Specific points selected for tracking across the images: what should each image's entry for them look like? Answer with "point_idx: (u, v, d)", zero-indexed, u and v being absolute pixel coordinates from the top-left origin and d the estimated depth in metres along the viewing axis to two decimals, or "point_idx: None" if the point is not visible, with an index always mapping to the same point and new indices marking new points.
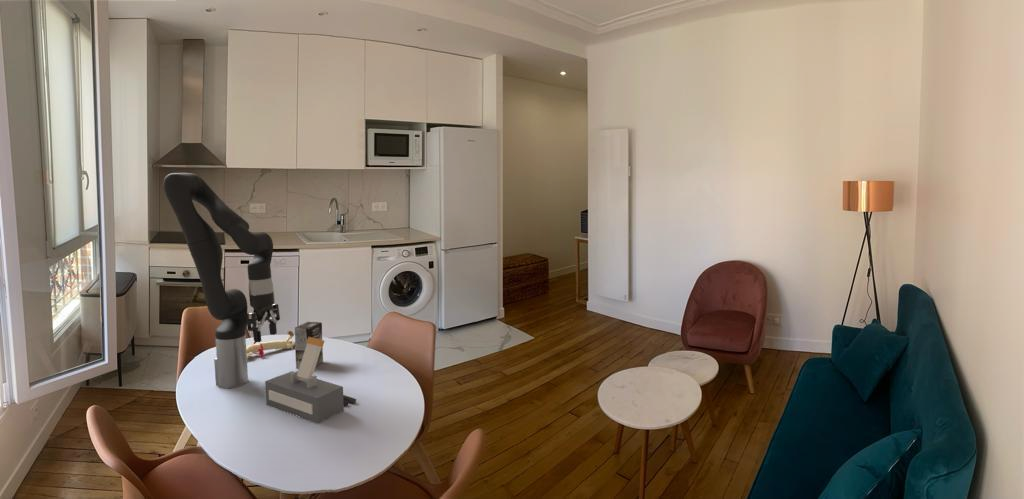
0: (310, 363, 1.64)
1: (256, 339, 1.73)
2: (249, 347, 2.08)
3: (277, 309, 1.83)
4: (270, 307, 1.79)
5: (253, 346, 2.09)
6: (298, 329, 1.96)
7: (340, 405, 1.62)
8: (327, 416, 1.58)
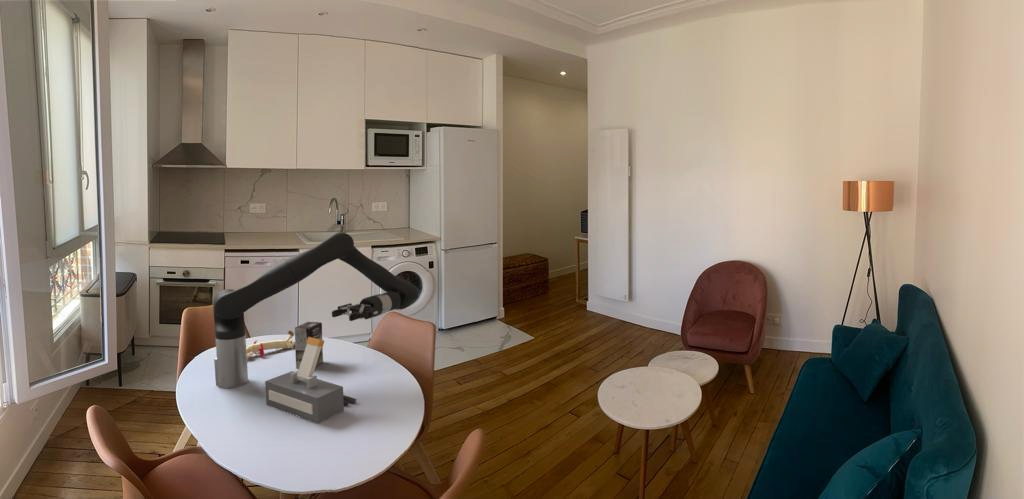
0: (310, 363, 1.64)
1: (354, 318, 1.74)
2: (249, 347, 2.08)
3: None
4: None
5: (253, 346, 2.09)
6: (298, 329, 1.96)
7: (340, 405, 1.62)
8: (327, 416, 1.58)
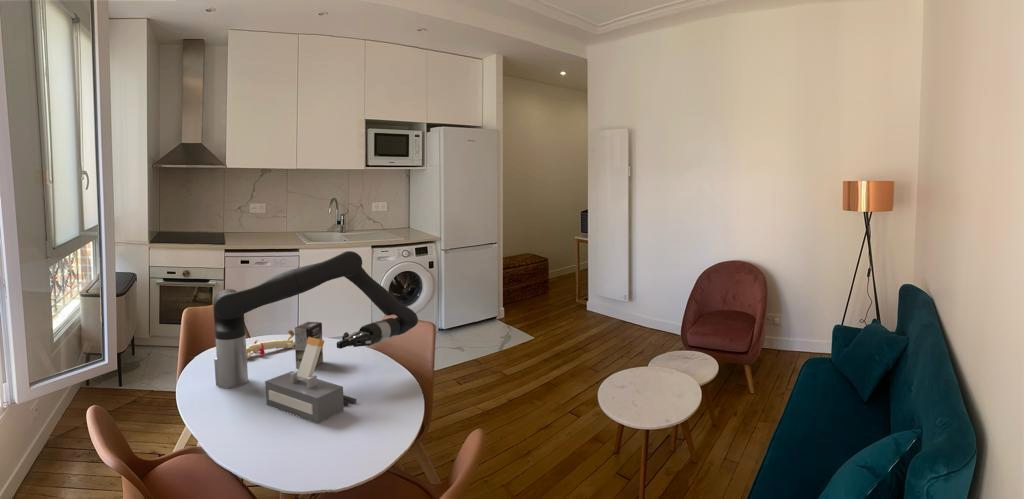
0: (310, 363, 1.64)
1: (343, 346, 1.76)
2: (250, 346, 2.08)
3: None
4: None
5: (254, 345, 2.09)
6: (298, 329, 1.96)
7: (340, 405, 1.62)
8: (327, 416, 1.58)
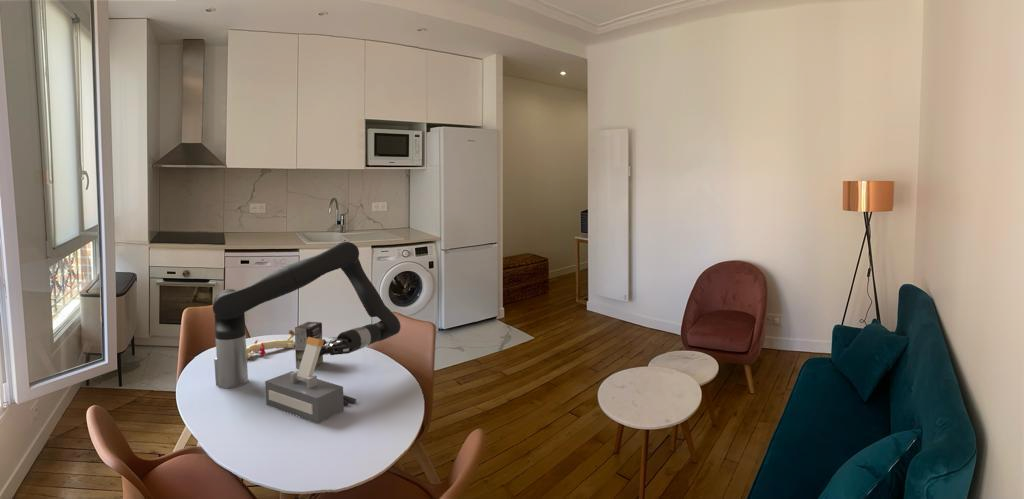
0: (310, 363, 1.64)
1: (319, 354, 1.67)
2: (250, 346, 2.08)
3: None
4: None
5: (254, 345, 2.09)
6: (298, 329, 1.96)
7: (340, 405, 1.62)
8: (327, 416, 1.58)
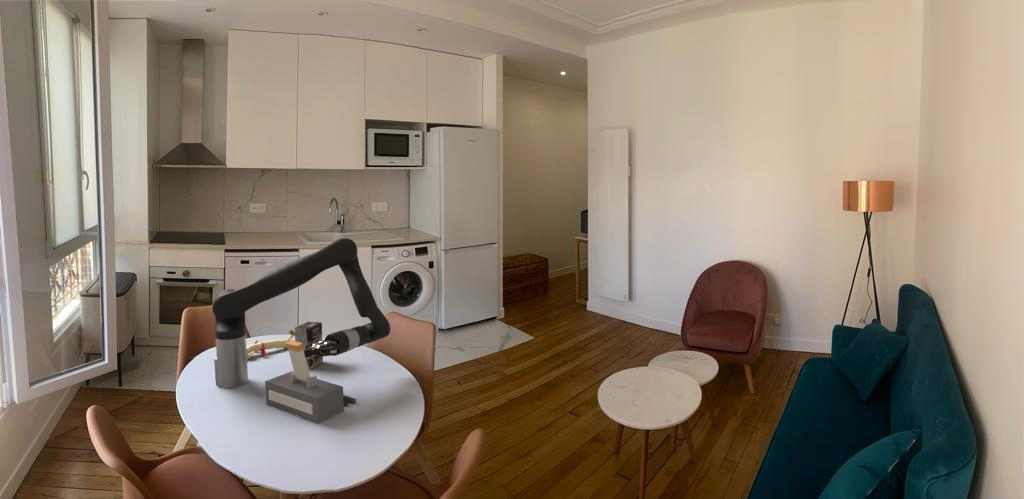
0: (301, 367, 1.61)
1: (305, 356, 1.62)
2: (251, 346, 2.08)
3: None
4: None
5: (255, 345, 2.09)
6: (298, 329, 1.96)
7: (340, 405, 1.62)
8: (327, 416, 1.58)
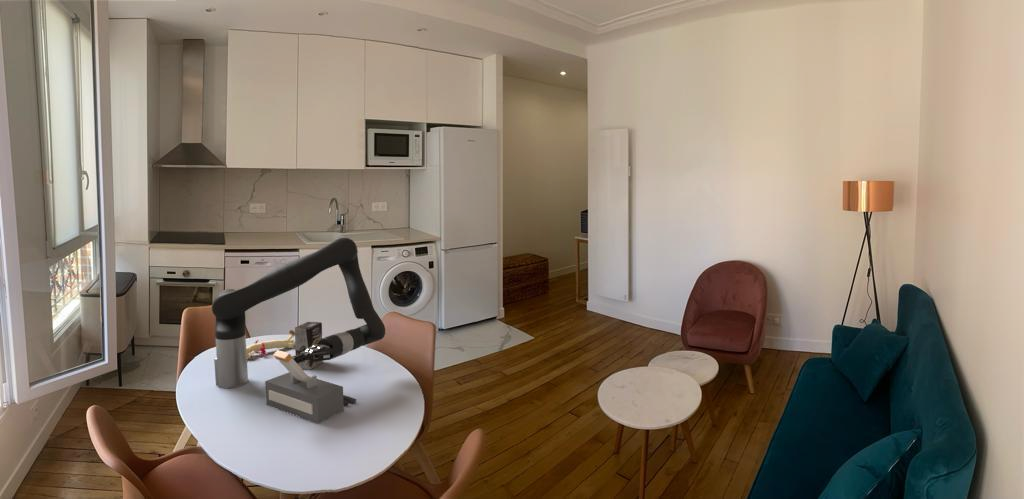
0: (296, 372, 1.59)
1: (298, 361, 1.60)
2: (251, 346, 2.09)
3: None
4: None
5: (255, 345, 2.09)
6: (298, 329, 1.96)
7: (340, 405, 1.62)
8: (327, 416, 1.58)
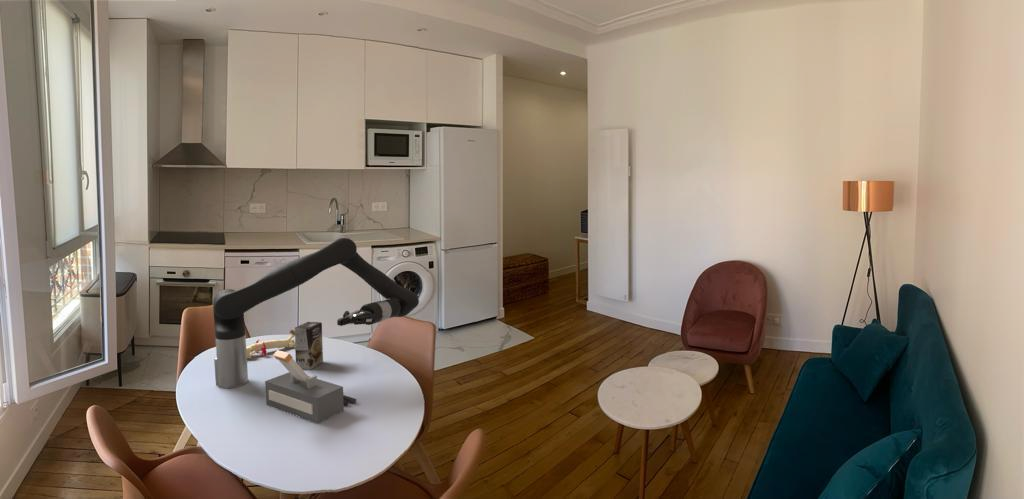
0: (296, 372, 1.59)
1: (344, 323, 1.75)
2: (252, 346, 2.09)
3: None
4: None
5: (256, 345, 2.10)
6: (298, 329, 1.96)
7: (340, 405, 1.62)
8: (327, 416, 1.58)
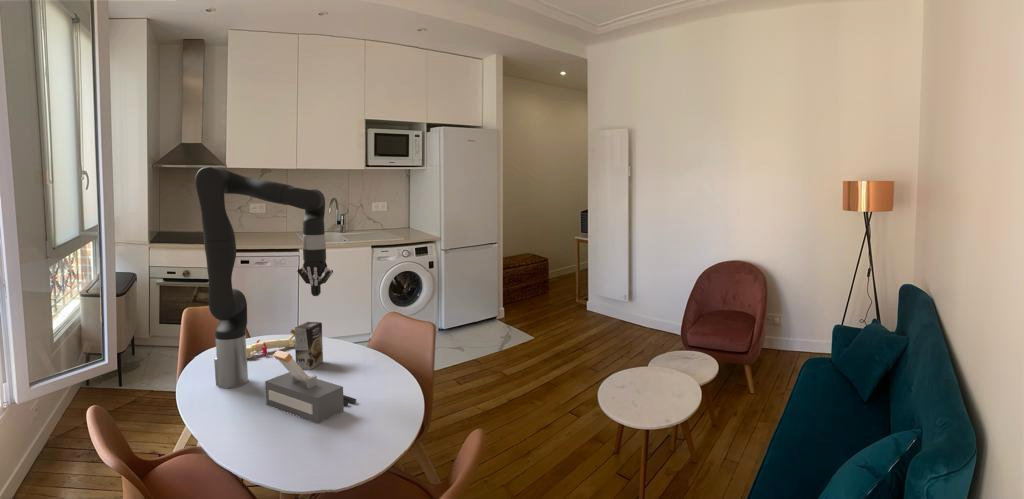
0: (296, 372, 1.59)
1: (319, 292, 1.84)
2: (253, 346, 2.09)
3: None
4: None
5: (257, 345, 2.10)
6: (298, 329, 1.96)
7: (340, 405, 1.62)
8: (327, 416, 1.58)
